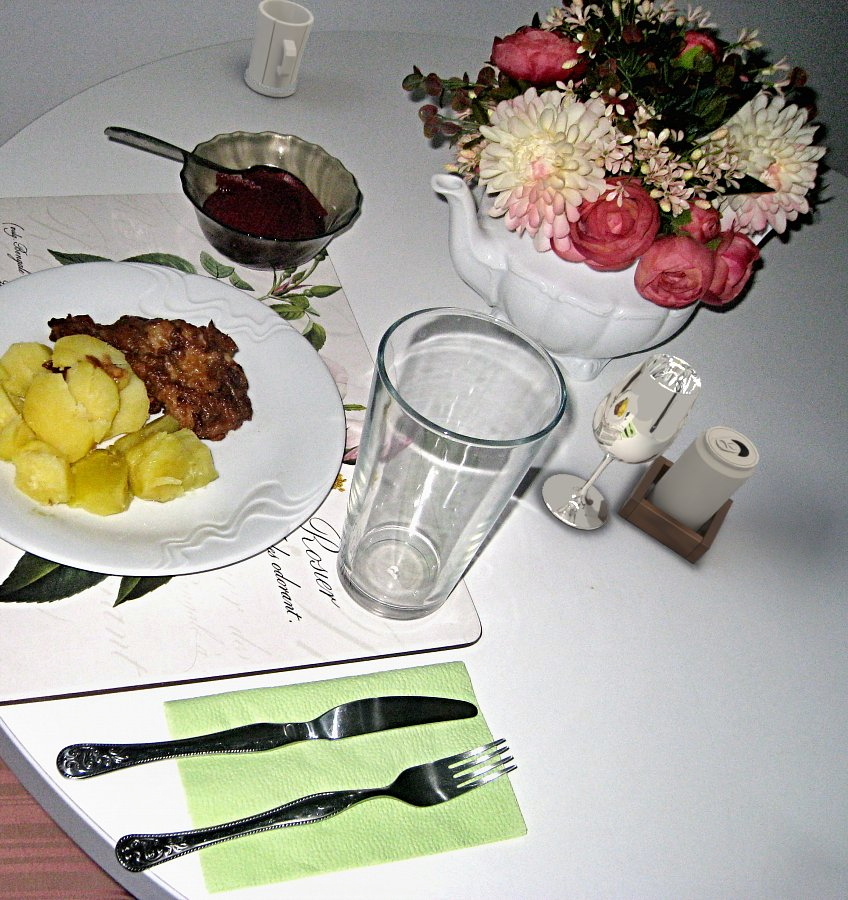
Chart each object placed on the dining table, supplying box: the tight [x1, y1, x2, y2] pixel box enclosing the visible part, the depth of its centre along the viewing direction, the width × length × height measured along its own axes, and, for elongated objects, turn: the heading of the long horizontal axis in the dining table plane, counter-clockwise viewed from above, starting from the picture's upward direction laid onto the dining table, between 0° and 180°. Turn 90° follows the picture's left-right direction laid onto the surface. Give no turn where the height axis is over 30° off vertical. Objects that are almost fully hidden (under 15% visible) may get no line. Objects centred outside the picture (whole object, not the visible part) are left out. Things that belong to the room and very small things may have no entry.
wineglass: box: [541, 352, 703, 530], centre depth 91 cm, size 8×8×20 cm
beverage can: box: [645, 425, 760, 533], centre depth 96 cm, size 6×6×12 cm
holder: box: [617, 454, 734, 565], centre depth 99 cm, size 9×9×3 cm
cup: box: [243, 0, 315, 98], centre depth 143 cm, size 10×9×12 cm
